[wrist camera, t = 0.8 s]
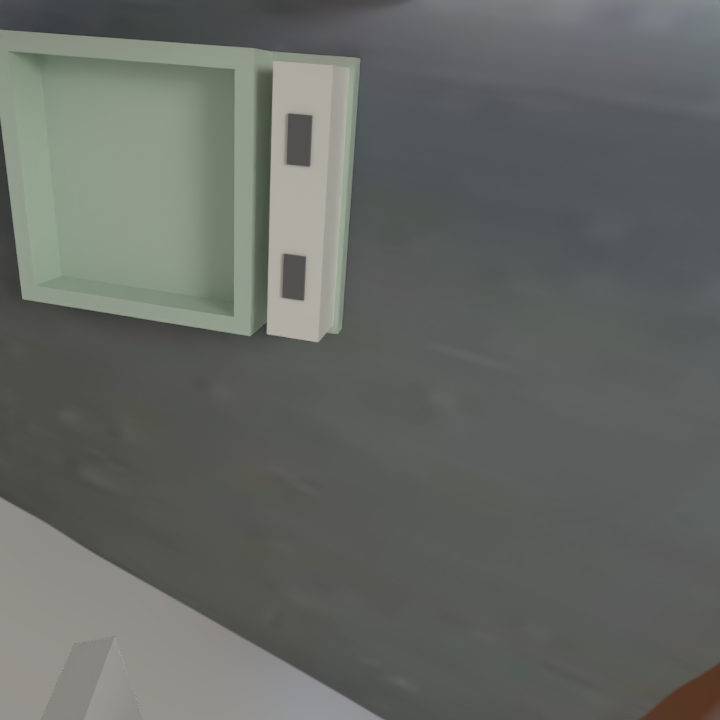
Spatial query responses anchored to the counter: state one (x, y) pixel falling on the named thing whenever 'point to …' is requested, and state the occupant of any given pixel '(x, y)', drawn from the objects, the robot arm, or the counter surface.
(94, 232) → the dock
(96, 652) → the robot arm
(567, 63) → the counter surface
